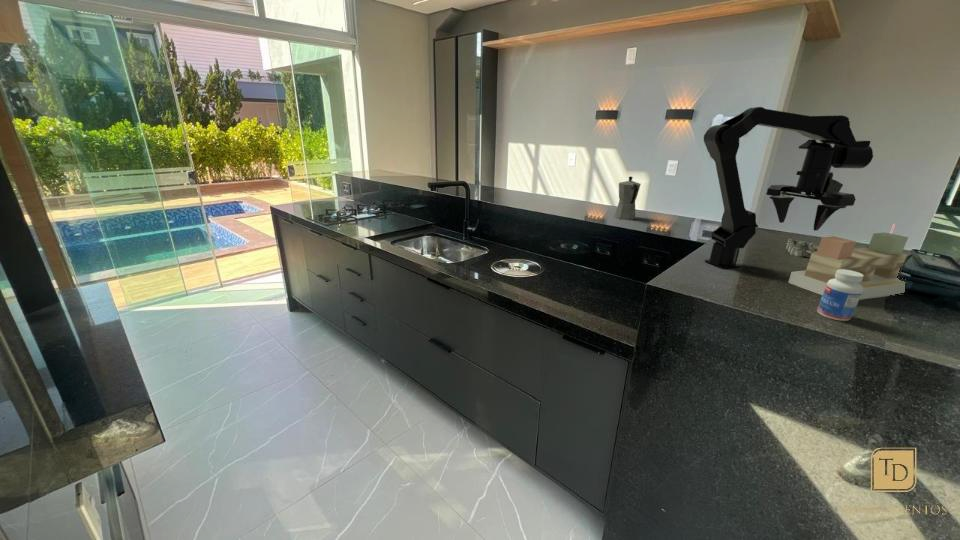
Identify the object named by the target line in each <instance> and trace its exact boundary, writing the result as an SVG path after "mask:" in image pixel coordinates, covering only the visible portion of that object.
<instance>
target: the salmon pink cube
mask: <svg viewBox="0 0 960 540" xmlns="http://www.w3.org/2000/svg"><path fill="white" fill-rule="evenodd" d="M856 245H857V241H856V240H852V239H847V238H844V237H839V236H835V235H834V236H824V237H823V236H822V237H821V240H820V242H819V245H818V247H819V248H818V250H817V253H816V254H820V255H823V256H827V257H831V258H834V259H847V258H851V255H852V252H853V250H854V249H855V248H856Z"/></svg>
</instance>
